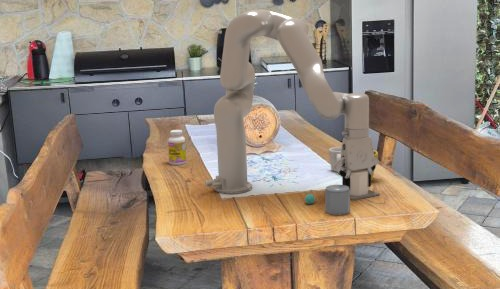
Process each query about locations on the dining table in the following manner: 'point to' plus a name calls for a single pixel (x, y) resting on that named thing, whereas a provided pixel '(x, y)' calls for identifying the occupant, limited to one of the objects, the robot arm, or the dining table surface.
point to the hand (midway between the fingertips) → (356, 187)
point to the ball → (309, 198)
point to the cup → (335, 156)
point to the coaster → (369, 194)
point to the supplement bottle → (177, 148)
